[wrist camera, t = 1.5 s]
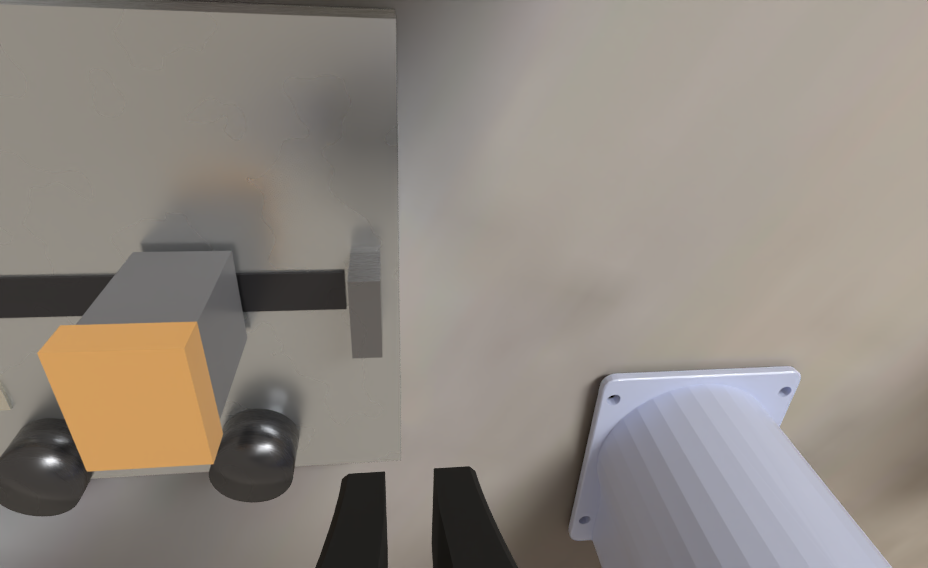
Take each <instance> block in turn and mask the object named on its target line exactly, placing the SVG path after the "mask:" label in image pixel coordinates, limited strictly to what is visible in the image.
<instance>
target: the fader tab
mask: <svg viewBox="0 0 928 568" xmlns="http://www.w3.org/2000/svg"><path fill="white" fill-rule="evenodd" d="M246 341H247V333H246V327H245V322H244V316H243V311H242V305H241V300H240V294H239V289H238V283H237V278H236V272H235V266H234V261H233V255H232V251H178V252H133V253H132V254H131V255H130V256H129V258H128V259H127V260H126V261H125V263H124V264H123V265H122V266H121V268H120V269H119V270H118V272H117V273H116V274H115V275H114V277H113V278H112V279H111V280H110V282H109V283H108V284H107V285H106V287H105V288H104V289H103V291H102V292H101V293H100V294H99V296H98V297H97V298H96V299H95V301H94V302H93V303H92V304H91V306H90V307H89V308H88V309H87V311H86V312H85V313H84V315H83V316H82V317H81V318H80V320H79V321H78V322H77V323H76V325H60V326H59V327H58V329H57V330H56V331H55V332H54V333H53V335H52V336H51V337H50V338H49V339H48V341H47V342H46V343H45V344H44V346H43V347H42V348H41V349H40V350H39V352H38V353H37V354H38V357H39V359H40V361H41V364H42V366H43V368H44V371H45V373H46V376H47V378H48V380H49V383H50V385H51V388H52V390H53V392H54V395H55V397H56V399H57V402H58V404H59V407H60V409H61V411H62V414H63V416H64V418H65V421H66V423H67V426H68V428H69V430H70V433H71V435H72V437H73V440H74V442H75V445H76V447H77V449H78V452H79V454H80V456H81V459H82V461H83V464H84V466H85V468H86V471H87V472H88V471H105V470H123V469H140V468H157V467H174V466H192V465H209V464H214V461H215V458H216V455H217V452H218V449H219V446H220V442H221V439H222V436H223V431H222V427H221V423H220V418H221V415H222V412H223V410H224V407H225V404H226V401H227V398H228V395H229V392H230V389H231V386H232V383H233V380H234V377H235V374H236V371H237V368H238V365H239V362H240V359H241V356H242V353H243V350H244V347H245V344H246Z"/></svg>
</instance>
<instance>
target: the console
mask: <svg viewBox="0 0 928 568" xmlns="http://www.w3.org/2000/svg"><path fill="white" fill-rule="evenodd" d="M178 251H232V255H233V261H234V266H235V272H236V278H237V283H238V289H239V294H240V300H241V305H242V311H243V316H244V322H245V327H246V333H247V341H246V344H245V347H244V350H243V353H242V356H241V359H240V362H239V365H238V368H237V371H236V374H235V377H234V380H233V383H232V386H231V389H230V392H229V395H228V398H227V401H226V404H225V407H224V410H223V412H222V415H221V418H220V423H221V427H222V431H223V436H222V439H221V442H220V446H219V449H218V452H217V455H216V458H215V461H214V464H209V465H192V466H174V467H157V468H140V469H123V470H105V471H88V472H87V471H86V468H85V466H84V464H83V461H82V459H81V456H80V454H79V452H78V449H77V447H76V445H75V442H74V440H73V437H72V435H71V433H70V430H69V428H68V426H67V423H66V421H65V418H64V416H63V414H62V411H61V409H60V407H59V404H58V402H57V399H56V397H55V395H54V392H53V390H52V388H51V385H50V383H49V380H48V378H47V376H46V373H45V371H44V368H43V366H42V364H41V361H40V359H39V357H38V354H37V353H38V352H39V350H40V349H41V348H42V347H43V346H44V344H45V343H46V342H47V341H48V339H49V338H50V337H51V336H52V335H53V333H54V332H55V331H56V330H57V329H58V327H59V326H60V325H76V323H77V322H78V321H79V320H80V318H81V317H82V316H83V315H84V313H85V312H86V311H87V309H88V308H89V307H90V306H91V304H92V303H93V302H94V301H95V299H96V298H97V297H98V296H99V294H100V293H101V292H102V291H103V289H104V288H105V287H106V285H107V284H108V283H109V282H110V280H111V279H112V278H113V277H114V275H115V274H116V273H117V272H118V270H119V269H120V268H121V266H122V265H123V264H124V263H125V261H126V260H127V259H128V258H129V256H130V255H131V254H132V253H133V252H178ZM398 460H401V394H400V310H399V226H398V142H397V58H396V16H395V9H376V8H351V7H325V6H300V5H275V4H250V3H225V2H199V1H174V0H0V504H1V505H2V506H4V507H6V508H8V509H10V510H12V511H15V512H18V513H22V514H26V515H32V516H54V515H59V514H62V513H65V512H67V511H69V510H71V509H72V508H73V507H75V506H76V505H77V503H78V502H79V500H80V498H81V496H82V495H83V493H84V491H85V489H86V487H87V485H88V483H89V481H90V480H91V479H96V478H113V477H130V476H147V475H163V474H180V473H197V472H209V478H210V481H211V483H212V485H213V486H214V487H215V489H217V490H218V491H219V492H220V493H221V494H223V495H225V496H227V497H229V498H231V499H234V500H238V501H243V502H263V501H268V500H271V499H274V498H276V497H278V496H280V495H281V494H283V493H284V492H285V491H286V490H287V489H288V488H289V487H290V485H291V483H292V479H293V473H294V467H298V466H315V465H331V464H348V463H365V462H382V461H398Z"/></svg>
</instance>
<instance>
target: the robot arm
mask: <svg viewBox="0 0 928 568" xmlns="http://www.w3.org/2000/svg"><path fill="white" fill-rule="evenodd" d="M800 380H801V375H800V373H799V372H798V371H797V370H796V369H795V368H793V367H790V366H781V367H758V368H734V369H711V370H687V371H663V372H640V373H616V374H611V375H608V376H606V377H605V378H604V379H603V380H602V382H601V384H600V388H599V392H598V397H597V401H596V406H595V410H594V415H593V419H592V424H591V428H590V433H589V438H588V442H587V447H586V451H585V456H584V460H583V465H582V469H581V474H580V478H579V483H578V487H577V492H576V496H575V501H574V505H573V510H572V514H571V519H570V523H569V528H568V530H569V534H570V537H571V538H572V539H573V540H576V541H585V540H592V541H593V543H594V546H595V549H596V552H597V555H598V558H599V561H600V564H601V567H602V568H892V567H891V565H890V564H889V563H888V562H887V560H886V559H885V558H884V557H883V555H882V554H881V553H880V552H879V550H878V549H877V548H876V547H875V546H874V544H873V543H872V542H871V541H870V539H869V538H868V537H867V536H866V534H865V533H864V532H863V531H862V529H861V528H860V527H859V526H858V524H857V523H856V522H855V521H854V519H853V518H852V517H851V516H850V514H849V513H848V512H847V511H846V509H845V508H844V507H843V506H842V505H841V503H840V502H839V501H838V500H837V498H836V497H835V496H834V495H833V493H832V492H831V491H830V490H829V488H828V487H827V486H826V485H825V483H824V482H823V481H822V480H821V478H820V477H819V476H818V475H817V473H816V472H815V471H814V470H813V469H812V467H811V466H810V465H809V464H808V462H807V461H806V460H805V459H804V457H803V456H802V455H801V454H800V452H799V451H798V450H797V449H796V447H795V446H794V445H793V444H792V442H791V441H790V440H789V439H788V437H787V436H786V435H785V434H784V432H783V431H782V430H781V429H780V428H779V427H780V424H781V422H782V420H783V418H784V416H785V413H786V411H787V409H788V407H789V405H790V402H791V400H792V398H793V396H794V394H795V391H796V389H797V387H798V385H799V382H800ZM612 395H615V396H614V397H612V398H609V397H610V396H612ZM432 556H433V568H518V567H517V565H516V563H515V561H514V559H513V557H512V555H511V553H510V551H509V549H508V547H507V545H506V543H505V541H504V539H503V537H502V535H501V533H500V531H499V529H498V527H497V524H496V522H495V520H494V518H493V516H492V513H491V511H490V509H489V507H488V504H487V502H486V499H485V497H484V494H483V492H482V489H481V487H480V484H479V481H478V478H477V475H476V472H475V470H473V469H472V468H471V467H469V466H468V467H452V468H435V469H434V485H433V518H432ZM315 568H388V547H387V517H386V487H385V472H371V473H355V474H348V475H347V476H345V477H344V478H343V479H342V482H341V488H340V493H339V497H338V501H337V504H336V508H335V512H334V515H333V519H332V522H331V525H330V528H329V531H328V534H327V537H326V540H325V543H324V546H323V549H322V552H321V555H320V557H319V560H318V562H317V565H316V567H315Z"/></svg>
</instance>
